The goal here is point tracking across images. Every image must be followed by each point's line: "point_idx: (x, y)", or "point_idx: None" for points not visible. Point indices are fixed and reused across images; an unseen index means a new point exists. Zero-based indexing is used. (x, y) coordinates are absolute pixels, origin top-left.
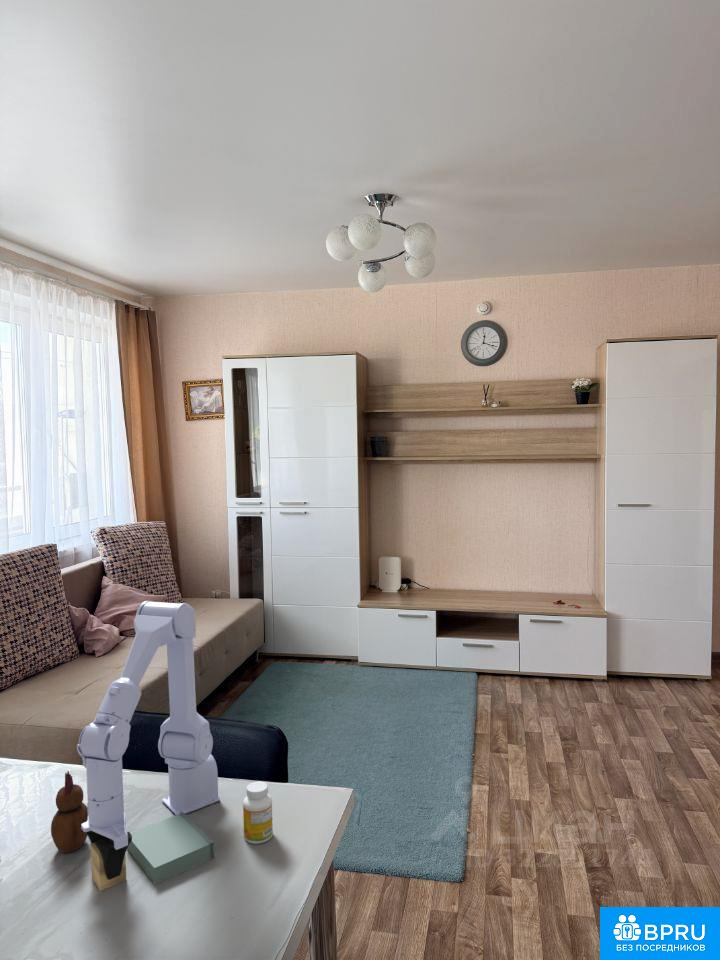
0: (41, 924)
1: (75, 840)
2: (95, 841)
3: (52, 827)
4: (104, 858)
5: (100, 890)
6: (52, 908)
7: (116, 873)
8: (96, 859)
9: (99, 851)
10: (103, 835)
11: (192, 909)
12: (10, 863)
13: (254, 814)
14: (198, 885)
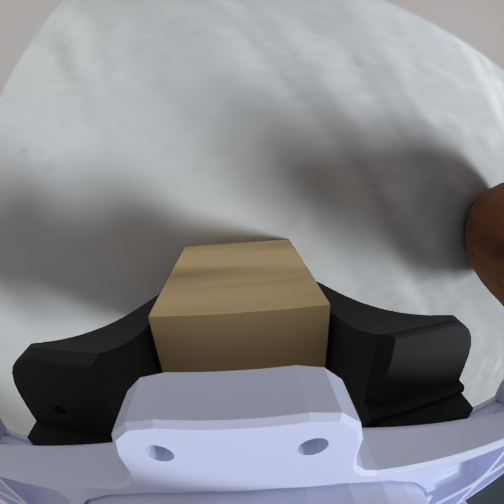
0: (126, 37)
1: (481, 243)
2: (334, 336)
3: None
4: (90, 334)
5: (186, 247)
6: (188, 71)
7: None
8: (206, 292)
9: (202, 332)
10: (20, 447)
11: None
12: (497, 70)
13: None
14: None
